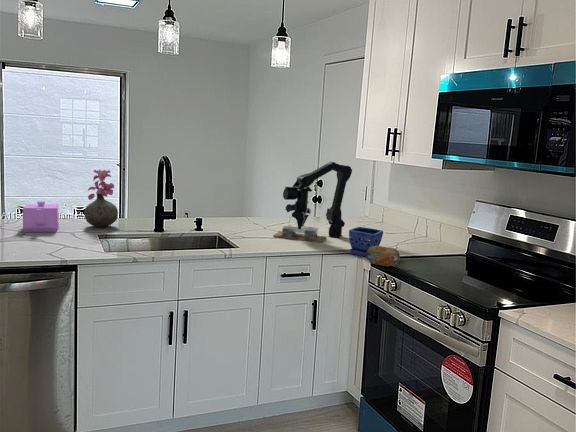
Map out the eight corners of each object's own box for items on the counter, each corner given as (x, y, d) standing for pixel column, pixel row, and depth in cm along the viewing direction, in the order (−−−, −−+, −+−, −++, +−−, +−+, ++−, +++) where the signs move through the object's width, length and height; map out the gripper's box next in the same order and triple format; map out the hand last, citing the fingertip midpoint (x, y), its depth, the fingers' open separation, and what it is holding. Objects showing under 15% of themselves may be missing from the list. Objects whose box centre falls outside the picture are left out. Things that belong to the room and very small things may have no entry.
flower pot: (382, 254, 262) (384, 230, 260) (372, 259, 250) (374, 234, 248) (357, 249, 268) (359, 226, 266) (346, 254, 257) (348, 229, 255)
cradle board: (325, 238, 291) (326, 229, 290) (321, 242, 279) (322, 233, 278) (279, 233, 297) (279, 224, 296) (273, 237, 285) (273, 227, 285)
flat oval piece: (365, 262, 243) (366, 244, 241) (367, 261, 245) (369, 243, 244) (397, 268, 236) (399, 249, 234) (399, 267, 239) (401, 248, 237)
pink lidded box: (21, 234, 254) (20, 205, 252) (27, 224, 277) (26, 197, 275) (56, 234, 259) (55, 205, 257) (59, 224, 282) (59, 198, 280)
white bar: (317, 233, 288) (317, 227, 287) (316, 234, 284) (316, 228, 283) (284, 229, 292) (285, 223, 291) (283, 231, 288) (283, 225, 287)
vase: (108, 231, 274) (108, 172, 269) (76, 228, 276) (76, 169, 272) (123, 225, 290) (123, 170, 285) (92, 222, 293) (93, 167, 288)
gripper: (291, 196, 296) (290, 224, 298) (283, 200, 278) (281, 229, 280) (311, 198, 293) (309, 226, 296) (304, 202, 275) (302, 232, 278)
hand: (300, 228), depth 287 cm, fingers closed on white bar, 4 cm apart
